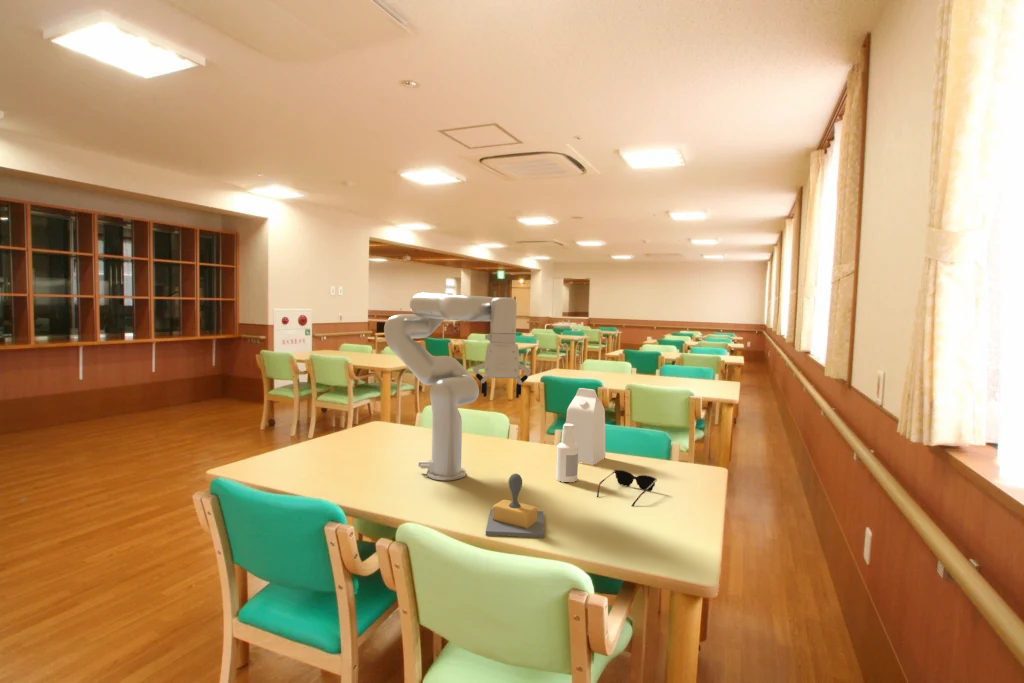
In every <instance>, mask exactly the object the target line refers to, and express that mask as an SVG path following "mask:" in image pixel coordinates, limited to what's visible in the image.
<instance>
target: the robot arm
mask: <svg viewBox="0 0 1024 683" xmlns="http://www.w3.org/2000/svg"><path fill="white" fill-rule="evenodd" d="M409 308H410V310H411V312H412V313H413V314H411V313H410V314H409V313H407V314H406V313H404V314H403V313H401V314H399V313H398V314H394V315H392V316H390V317H389V318H388V319H386V321H385V323H384V327H383V331H384V338H385V342H386V344H387V346H388V348H389V349H390V350H391V352H393V353H394V355H395V356H397V357H398V358H399V360H400V361H402V362H403V364H404V365H405V366H406V367H407V368H408V369H409V371H410V372H411V373H412V374H413V375H414V377H416V379H418V381H419V382H420V383H421V384H422V385H426V386H430V390H429V399H430V400H429V401H430V405H431V417H432V419H431V421H432V422H431V424H432V426H431V428H432V429H431V430H432V431H431V434H432V436H431V460H428V461H425V460H418V467H419V468H420V469H427V471H426V477H427V478H429V479H432V480H436V481H455V480H460V479H462V478H464V477H465V476H466V474H467V473H466V472H467V471H466V470H465V469H464V468H463V467H462V445H463V444H462V438H463V437H462V436H463V421H462V415H461V413H460V411H459V408H458V407H460V406H465V405H469V404H472V403H474V402H476V400H477V399H478V397H479V396H480V395H479V394H480V389H479V384H478V383H477V381H476V379H475V378H477V380H478V381H479V382H480V383H481V394H483V397H484V398H485V397H487V396H488V382H487V380H488V379H489V378H492V379H514V380H515V382H516V385H515V386H516V389H515V398H516V399H519V397H520V396H522V384H524V382H526V380H527V379H528V378H529V376H530V374H531V373H532V369H531V368H529V367H527V366H525V365H523V364H521V363H520V352H519V346H518V344H517V343H516V336H517V335H516V334H517V300H516V298H513V297H504V296H503V297H499V296H498V297H494V296H482V295H481V296H480V295H460V294H459V295H458V294H453V293H449V292H430V291H429V292H426V291H424V292H419V293H416V294H414V295H413V296H412V297H411V298H410V301H409ZM445 320H447V321H460V322H461V321H462V322H490V332H489V334H485V335H484V337H485V339H484V340H487V341H489V343H486V344H487V345H486V350H485V355H484V362H483V363H480V364H478V365H476V366H474V367H473V368H472V371H473V373H474V375H475V378H474V377H473V375H471V374H470V372H469V371H468V370H467V369H466V368H465V367H464V366H463V365H462V364H461V363H460V361H458V360H457V359H456V358H454V357H453V356H449V355H432V354H431V353H430V352H429V351H428V350H427V349H426V348H425V346H423V345H422V344H421V343H419V342H418V341H416V340H414V339H425V338H429V336H431V335H432V334H433V333H434V332H435V331H436V330H437V328H438V327H439V326H440V325H441V324H442V322H444V321H445ZM483 368H484V369H483ZM481 369H483V370H484V372H483V373H484V376H483V375H482V374H481V373H480V370H481ZM520 370H522V371H524V372H525V373H524V375H523V376H522V377H520V376H519V374H520Z"/></svg>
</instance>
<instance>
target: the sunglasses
mask: <svg viewBox="0 0 1024 683" xmlns="http://www.w3.org/2000/svg"><path fill="white" fill-rule="evenodd" d="M614 474H615V479H616V481H617V483H618V485H621V484H623V485H622V486H625V485H627V487H630V486H631V484H633V482H634V480H635V482H636V484H637V486H638V488H639V489H640V490H643V491H642V492H641V493H640V494H639V495H638V496H637V498H636V499H635V500H634V501H633V503H631V507H634V506H635V505H636V504H637V502H638V500H639V499H640V498H641V497H642V496H643V494H645V493H646V492H647V491H649V492H652V491H653V488H654V487H655V486H656V482H657V481H658V478H656V477H653V476H652V475H651V476H650V475H645V474H642V475H637V476H635V475H634V474H632V473H631V472H629V471H626V470H621V469H613V471H612V472H611V473H610V474H609V475H608V476H606V477H605V478H603V479H602V480H600V482H599V483H598V486H597V487H598V488H597V493H596V498H597V497H599V495H600V488H601V484H602V483H603V482H605V481H606V480H607V479H608V478H609V477H610V476H612V475H614Z"/></svg>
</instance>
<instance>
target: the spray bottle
mask: <svg viewBox="0 0 1024 683" xmlns="http://www.w3.org/2000/svg"><path fill="white" fill-rule="evenodd" d="M578 464H579V463H578V446H577V445H576V444H575V443H574V425H573V424H568V423H567V424H566V423H564V424H563V426H562V431H561V442H559V443H558V444H557V446H556V469H555V479H557V481H558V482H560V481H561V482H560V483H564V482H573V483H576V482H577V480H578V470H579V465H578ZM575 481H576V482H575Z"/></svg>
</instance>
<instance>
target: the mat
mask: <svg viewBox="0 0 1024 683" xmlns="http://www.w3.org/2000/svg"><path fill="white" fill-rule="evenodd" d="M489 510H490V511H489V514H488V519H487V524H486V527H485V536H492V535H509V536H508V537H514V536H522V537H521V538H537V537H540V539H541V538H542V539H543V538H545V525H544V524H545V523H544V522H545V521H544V511H543V510H542V511H541V510H537V522H535V523H534V524H533V525H531V526H530V527H529V528H523V527H520V526H516V525H512V524H508V523H504V522H500V521H497V520H493V508H490V509H489Z"/></svg>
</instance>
